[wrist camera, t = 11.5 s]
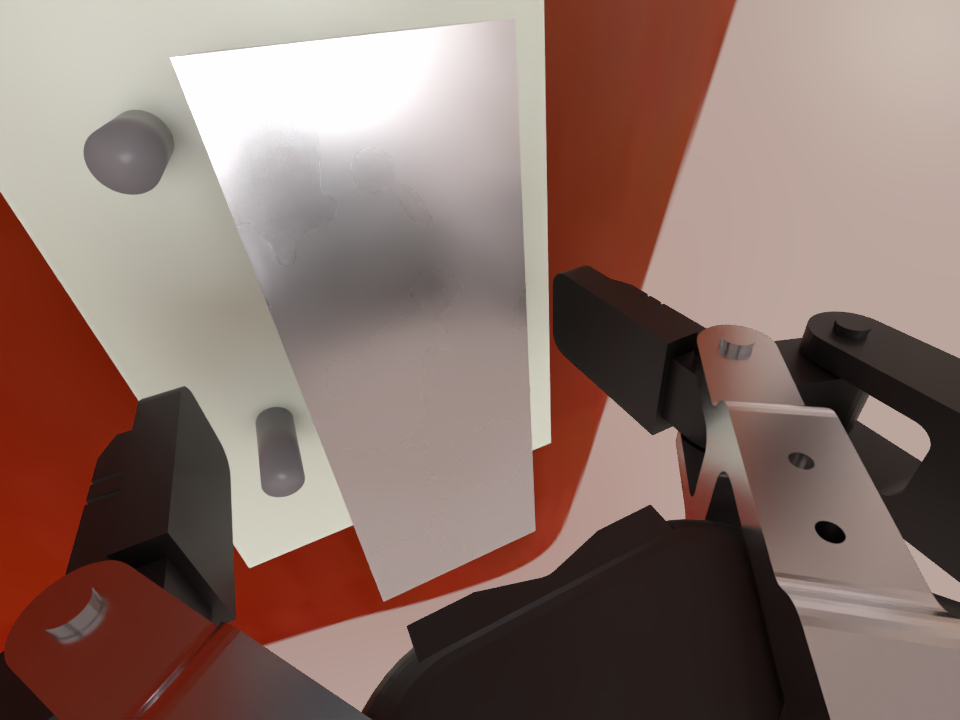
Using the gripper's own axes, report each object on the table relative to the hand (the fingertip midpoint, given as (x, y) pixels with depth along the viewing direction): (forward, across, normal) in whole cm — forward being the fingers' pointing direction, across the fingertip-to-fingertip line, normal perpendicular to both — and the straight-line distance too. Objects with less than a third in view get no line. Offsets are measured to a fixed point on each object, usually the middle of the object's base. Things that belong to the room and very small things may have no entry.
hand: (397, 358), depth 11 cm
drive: (+6, 0, 0) cm, 6 cm away
